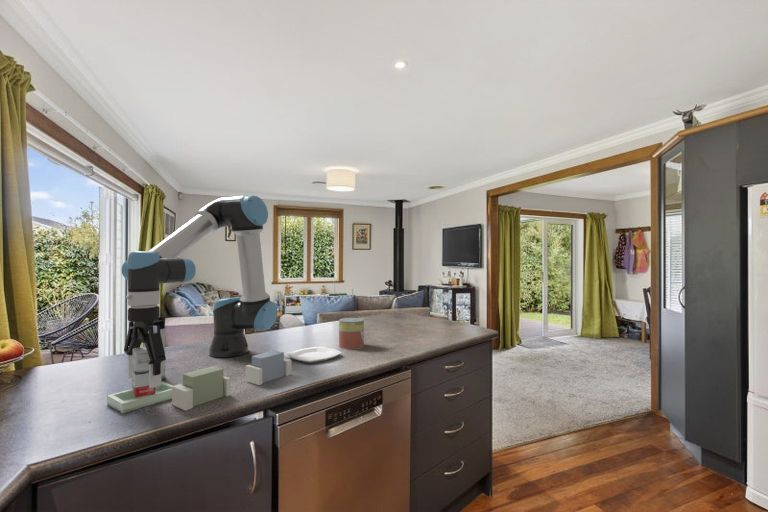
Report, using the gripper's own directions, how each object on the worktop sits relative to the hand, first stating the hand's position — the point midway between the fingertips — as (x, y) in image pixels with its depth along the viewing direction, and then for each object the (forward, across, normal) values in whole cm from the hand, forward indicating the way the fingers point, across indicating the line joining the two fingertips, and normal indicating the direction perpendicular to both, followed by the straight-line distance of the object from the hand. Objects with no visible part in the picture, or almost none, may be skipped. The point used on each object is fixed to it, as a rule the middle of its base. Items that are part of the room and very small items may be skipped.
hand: (143, 381), depth 103 cm
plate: (+6, +7, +59) cm, 60 cm away
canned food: (+5, +8, +81) cm, 82 cm away
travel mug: (+5, -17, +10) cm, 20 cm away
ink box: (+3, 0, 0) cm, 3 cm away
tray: (+5, 0, 0) cm, 5 cm away
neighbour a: (+5, +13, +10) cm, 17 cm away
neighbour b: (+5, +13, +32) cm, 35 cm away
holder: (+5, +13, +21) cm, 25 cm away
